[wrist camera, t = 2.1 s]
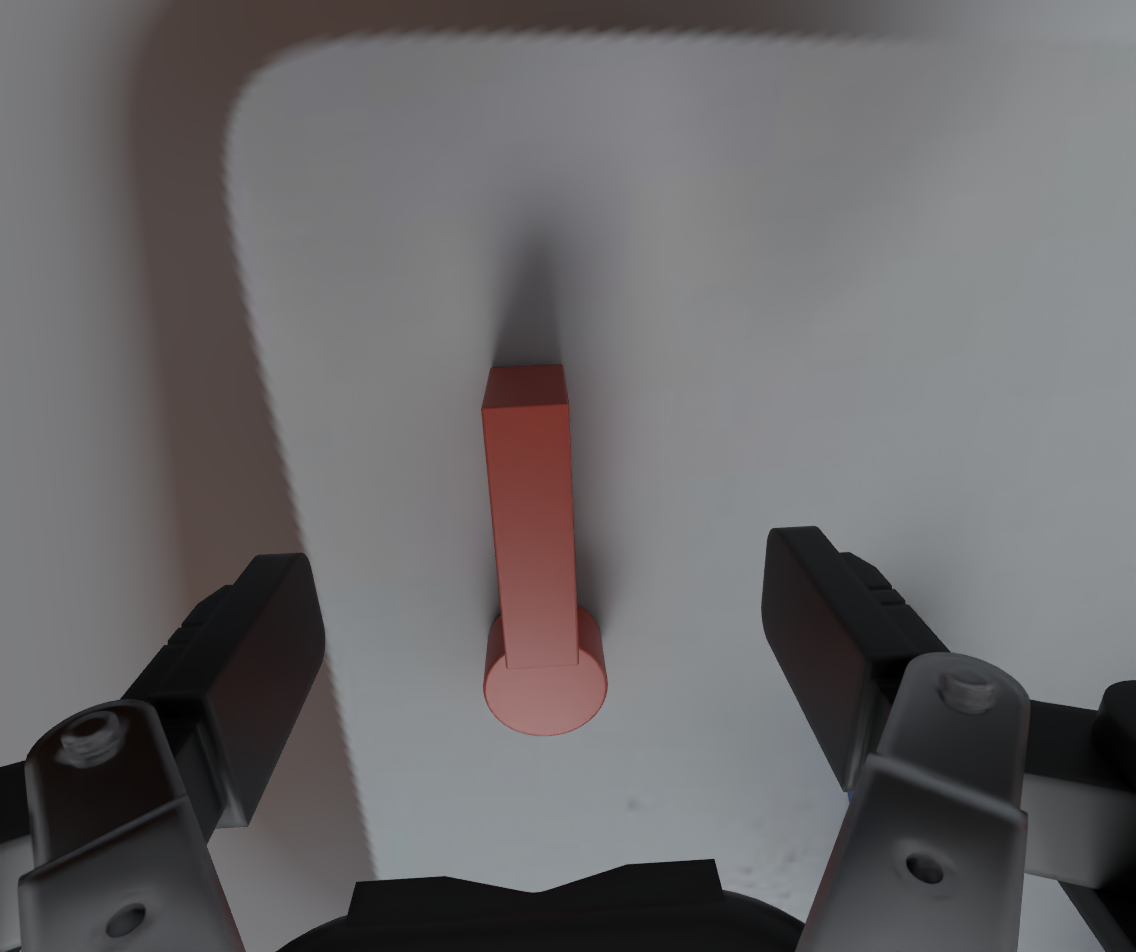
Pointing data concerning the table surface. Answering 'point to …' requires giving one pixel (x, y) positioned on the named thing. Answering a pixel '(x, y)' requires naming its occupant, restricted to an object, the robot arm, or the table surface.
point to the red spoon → (536, 560)
